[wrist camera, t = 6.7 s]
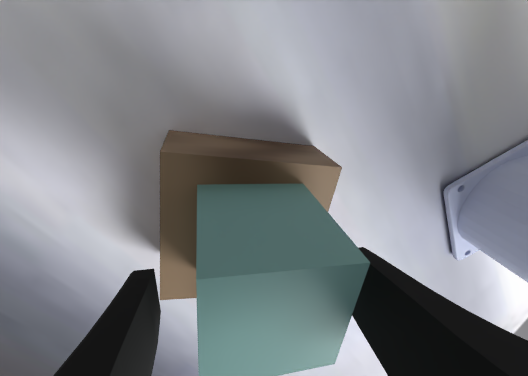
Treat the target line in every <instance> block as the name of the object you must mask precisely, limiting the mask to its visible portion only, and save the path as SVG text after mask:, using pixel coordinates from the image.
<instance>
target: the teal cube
mask: <svg viewBox="0 0 528 376" xmlns="http://www.w3.org/2000/svg"><path fill="white" fill-rule="evenodd" d="M369 265H370V261H369V260H368V259H367V258H366V257H365V256H364V254H363V253H362V252H361V251H360V250H359V249H358V247H357V246H356V245H355V244H354V243H353V241H352V240H351V239H350V238H349V237H348V236H347V234H346V233H345V232H344V231H343V230H342V229H341V227H340V226H339V225H338V224H337V223H336V221H335V220H334V219H333V218H332V217H331V216H330V214H329V213H328V212H327V211H326V210H325V209H324V207H323V206H322V205H321V204H320V203H319V201H318V200H317V199H316V198H315V197H314V196H313V194H312V193H311V192H310V191H309V190H308V189H307V187H306V186H305V185H304V184H211V185H197V255H196V289H197V326H198V364H199V376H278V375H283V374H288V373H293V372H297V371H302V370H307V369H312V368H317V367H322V366H327V365H332V364H335V361H336V358H337V356H338V353H339V350H340V347H341V344H342V341H343V339H344V336H345V333H346V330H347V327H348V325H349V322H350V319H351V316H352V313H353V310H354V308H355V305H356V302H357V299H358V296H359V293H360V291H361V288H362V285H363V282H364V279H365V276H366V274H367V271H368V268H369Z"/></svg>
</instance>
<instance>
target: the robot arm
mask: <svg viewBox="0 0 528 376" xmlns="http://www.w3.org/2000/svg"><path fill="white" fill-rule="evenodd" d="M444 200H445V206H446V213H447V220H448V226H449V233H450V240H451V246H452V253H453V257H454V258H455V259H456V260H462V259H464V258H466V257H468V256H469V255H471V254H473V253H475V252H477V251H478V250H481V251H482V252H484V253H485V254H487V255H488V256H490V257H491V258H493V259H494V260H495V261H497V262H498V263H500V264H501V265H503V266H504V267H506V268H507V269H509V270H510V271H512V272H513V273H515V274H516V275H518V276H519V277H521V278H522V279H524V280H525V281H527V282H528V140H526V141H525V142H523V143H521V144H519V145H518V146H516V147H514V148H512V149H511V150H509V151H507V152H505V153H504V154H502V155H500V156H498V157H497V158H495V159H493V160H491V161H490V162H488V163H486V164H484V165H483V166H481V167H479V168H477V169H476V170H474V171H472V172H471V173H469V174H467V175H465V176H464V177H462V178H460V179H458V180H457V181H455V182H453V183H451V184H450V185H448V186H447V187H446V188H445V190H444ZM358 249H359V250H360V251H361V252H362V253H363V254H364V256H365V257H366V258H367V259H368V260H369V261H370V265H369V268H368V271H367V274H366V276H365V279H364V282H363V285H362V288H361V291H360V293H359V296H358V299H357V302H356V305H355V308H354V310H353V313H352V316H353V317H354V319H355V321H356V322H357V324H358V326H359V328H360V329H361V331H362V333H363V334H364V336H365V338H366V339H367V341H368V343H369V344H370V346H371V348H372V349H373V351H374V353H375V354H376V356H377V358H378V359H379V361H380V363H381V364H382V366H383V368H384V370H385V371H386V373H387V375H388V376H528V341H527V340H525V339H523V338H521V337H519V336H516V335H514V334H512V333H510V332H508V331H506V330H504V329H502V328H500V327H498V326H496V325H494V324H492V323H490V322H488V321H486V320H484V319H482V318H480V317H479V316H477V315H475V314H473V313H471V312H469V311H467V310H465V309H464V308H462V307H460V306H458V305H456V304H455V303H453V302H451V301H450V300H448V299H446V298H444V297H443V296H441V295H439V294H438V293H436V292H434V291H433V290H431V289H429V288H428V287H426V286H424V285H423V284H421V283H420V282H418V281H416V280H415V279H413V278H412V277H410V276H408V275H407V274H405V273H404V272H402V271H401V270H399V269H398V268H396V267H394V266H393V265H391V264H390V263H388V262H387V261H385V260H384V259H382V258H380V257H379V256H377V255H376V254H374V253H372V252H371V251H369V250H367V249H366V248H364V247H361V248H358ZM160 314H161V310H160V304H159V298H158V291H157V285H156V279H155V272H154V269H147V270H137V271H133V272H132V273H131V274H130V276H129V277H128V279H127V280H126V282H125V283H124V285H123V286H122V288H121V289H120V290H119V292H118V293H117V295H116V296H115V298H114V299H113V300H112V302H111V303H110V305H109V306H108V307H107V309H106V310H105V311H104V313H103V314H102V315H101V317H100V318H99V319H98V321H97V322H96V323H95V325H94V326H93V327H92V329H91V330H90V331H89V333H88V334H87V335H86V337H85V338H84V339H83V340H82V342H81V343H80V344H79V345H78V346H77V348H76V349H75V350H74V351H73V353H72V354H71V355H70V356H69V357H68V359H67V360H66V361H65V362H64V364H63V365H62V366H61V367H60V368H59V370H58V371H57V372H56V373H55V374H54V376H151V374H152V369H153V365H154V360H155V355H156V349H157V344H158V335H159V325H160Z"/></svg>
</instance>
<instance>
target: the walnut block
mask: <svg viewBox="0 0 528 376" xmlns="http://www.w3.org/2000/svg"><path fill="white" fill-rule="evenodd" d="M341 169H342V167H341V166H340V165H338V164H337V163H336V162H334V161H333V160H332V159H330V158H329V157H328V156H326V155H325V154H324V153H322V152H321V151H320V150H318V149H317V148H316V147H314V146H308V145H299V144H290V143H281V142H272V141H262V140H253V139H244V138H235V137H226V136H217V135H208V134H198V133H189V132H180V131H171V130H169V131H168V134H167V136H166V139H165V141H164V143H163V146H162V148H161V150H160V300H169V299H185V298H197V289H196V255H197V185H211V184H304V185H305V186H306V187H307V189H308V190H309V191H310V192H311V193H312V194H313V196H314V197H315V198H316V199H317V200H318V201H319V203H320V204H321V205H322V206H323V207H324V209H325V210H326V211H327V212H328V210H329V207H330V204H331V201H332V198H333V194H334V191H335V188H336V185H337V182H338V179H339V176H340V172H341Z"/></svg>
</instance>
